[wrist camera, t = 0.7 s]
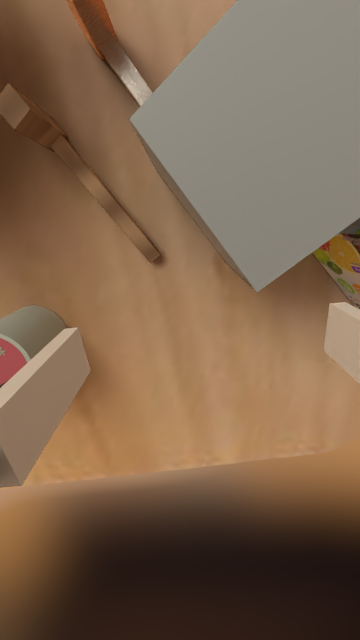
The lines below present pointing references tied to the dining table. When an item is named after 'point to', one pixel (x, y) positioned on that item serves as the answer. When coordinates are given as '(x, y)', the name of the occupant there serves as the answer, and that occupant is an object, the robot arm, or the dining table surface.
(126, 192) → the dining table surface
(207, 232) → the shelf cubby
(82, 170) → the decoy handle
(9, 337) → the mug
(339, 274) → the snack box
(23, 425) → the robot arm
